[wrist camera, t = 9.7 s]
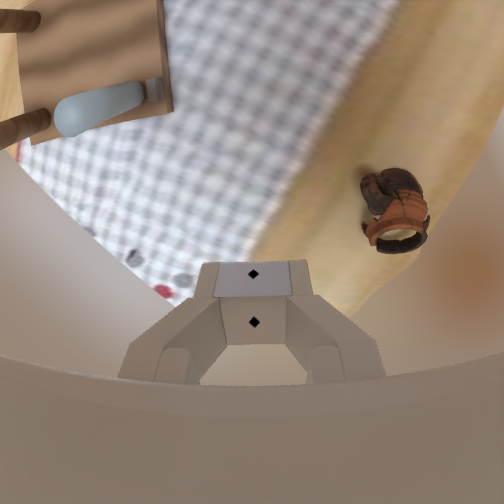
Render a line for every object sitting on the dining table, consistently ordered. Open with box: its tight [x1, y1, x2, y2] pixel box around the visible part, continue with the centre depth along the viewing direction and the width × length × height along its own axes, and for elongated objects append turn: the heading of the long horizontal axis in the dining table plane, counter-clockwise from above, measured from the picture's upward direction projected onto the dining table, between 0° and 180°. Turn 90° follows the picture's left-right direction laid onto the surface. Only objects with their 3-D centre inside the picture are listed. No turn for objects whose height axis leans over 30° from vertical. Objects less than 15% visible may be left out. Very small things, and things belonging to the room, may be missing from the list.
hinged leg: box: [54, 81, 145, 137], centre depth 23 cm, size 3×3×12 cm
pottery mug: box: [360, 169, 430, 254], centre depth 36 cm, size 12×9×8 cm
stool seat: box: [0, 0, 173, 150], centre depth 21 cm, size 20×20×16 cm
